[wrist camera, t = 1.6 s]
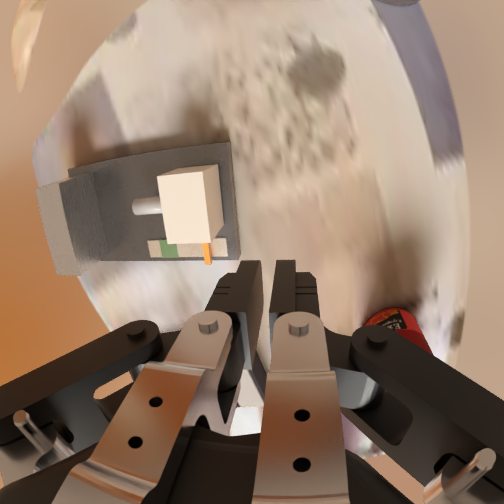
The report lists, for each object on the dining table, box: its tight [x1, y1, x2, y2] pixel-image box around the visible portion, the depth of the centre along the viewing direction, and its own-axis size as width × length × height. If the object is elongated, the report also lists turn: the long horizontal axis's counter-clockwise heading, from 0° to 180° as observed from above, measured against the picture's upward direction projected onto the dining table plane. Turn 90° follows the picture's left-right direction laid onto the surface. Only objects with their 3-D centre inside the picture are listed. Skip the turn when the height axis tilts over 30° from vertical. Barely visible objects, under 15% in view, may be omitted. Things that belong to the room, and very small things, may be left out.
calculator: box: [236, 351, 267, 408], centre depth 39 cm, size 11×4×15 cm
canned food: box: [365, 308, 434, 356], centre depth 29 cm, size 8×8×11 cm
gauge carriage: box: [132, 164, 224, 265], centre depth 27 cm, size 10×8×5 cm
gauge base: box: [36, 142, 241, 276], centre depth 28 cm, size 12×20×8 cm, turn 94°
